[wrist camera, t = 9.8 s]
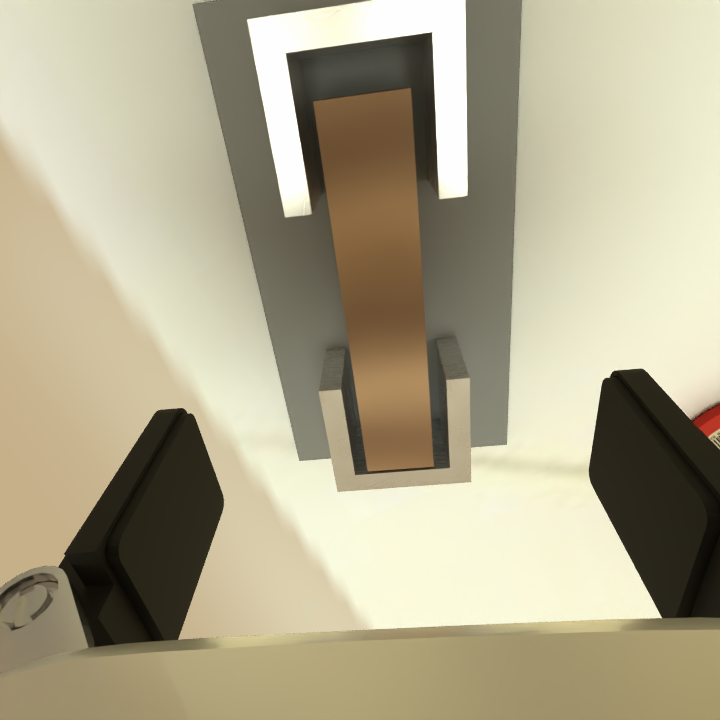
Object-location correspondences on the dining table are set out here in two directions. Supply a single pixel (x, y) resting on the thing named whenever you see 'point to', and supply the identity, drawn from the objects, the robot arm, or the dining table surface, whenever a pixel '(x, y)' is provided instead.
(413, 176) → the slat
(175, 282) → the dining table surface
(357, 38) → the endcap
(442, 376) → the endcap
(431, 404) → the mat
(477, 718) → the robot arm
